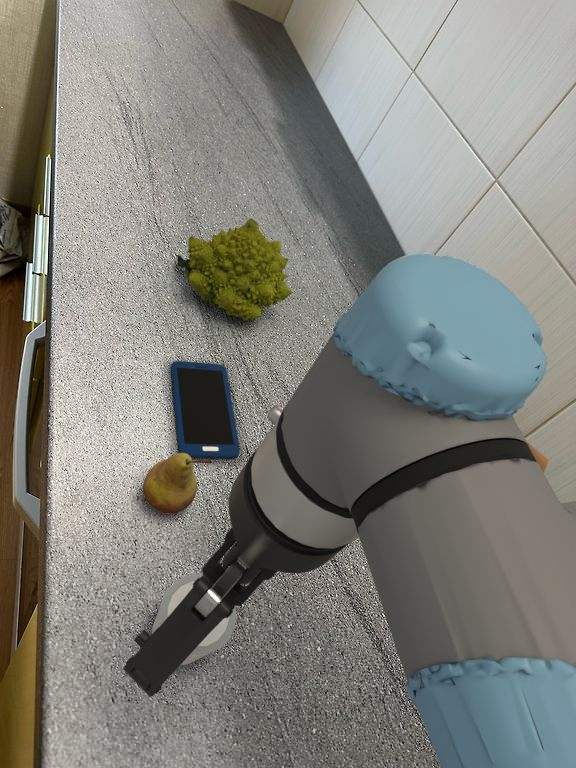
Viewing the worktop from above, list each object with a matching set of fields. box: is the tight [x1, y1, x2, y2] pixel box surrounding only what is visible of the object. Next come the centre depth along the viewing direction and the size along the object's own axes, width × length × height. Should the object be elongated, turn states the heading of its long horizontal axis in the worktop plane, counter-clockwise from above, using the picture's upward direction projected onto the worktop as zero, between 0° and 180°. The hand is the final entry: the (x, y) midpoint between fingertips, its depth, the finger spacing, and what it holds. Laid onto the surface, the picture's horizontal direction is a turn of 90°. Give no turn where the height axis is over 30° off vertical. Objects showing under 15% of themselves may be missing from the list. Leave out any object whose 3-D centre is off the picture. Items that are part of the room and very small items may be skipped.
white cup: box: [151, 573, 237, 666], centre depth 52 cm, size 7×7×7 cm
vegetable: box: [176, 217, 293, 322], centre depth 82 cm, size 15×16×15 cm
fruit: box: [142, 452, 213, 515], centre depth 58 cm, size 6×6×12 cm
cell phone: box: [170, 360, 241, 460], centre depth 71 cm, size 7×14×1 cm, turn 11°
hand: (208, 599), depth 48 cm, fingers open, 13 cm apart
